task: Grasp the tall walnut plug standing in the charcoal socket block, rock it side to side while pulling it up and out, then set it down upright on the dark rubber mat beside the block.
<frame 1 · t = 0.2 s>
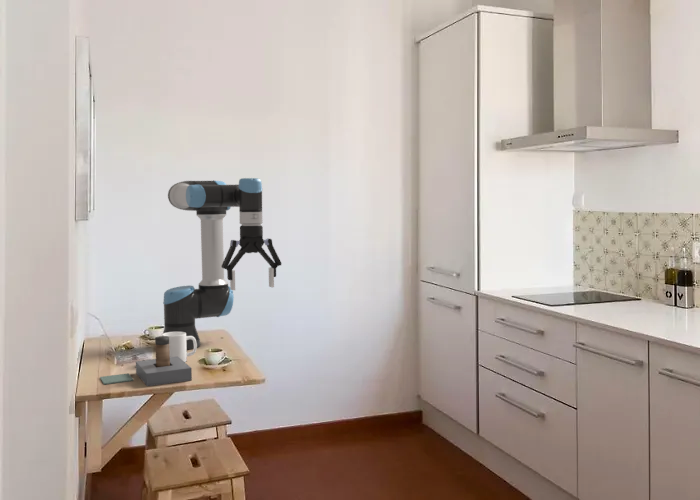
hand: (252, 288, 228), 28 cm above the table, fingers open, 13 cm apart
mat: (116, 379, 220), on the table
socket block: (163, 376, 223), on the table
plug: (162, 357, 223), in the socket block
cup: (180, 361, 244), on the table
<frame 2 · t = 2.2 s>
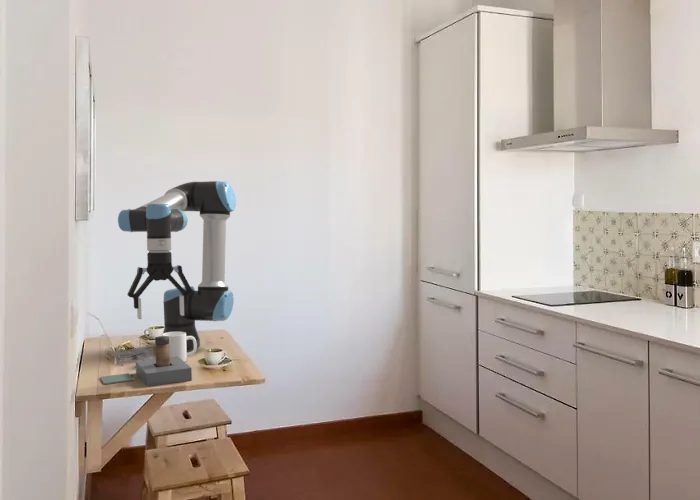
hand: (161, 316, 222), 20 cm above the table, fingers open, 13 cm apart
nothing on the table moved.
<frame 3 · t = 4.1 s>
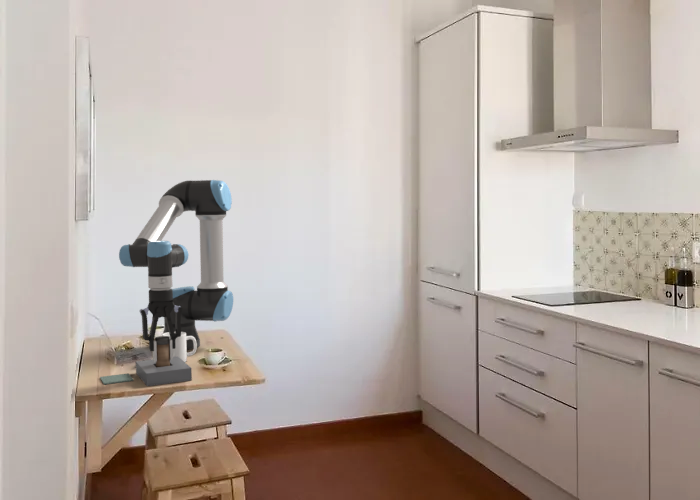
hand: (162, 359, 223), 6 cm above the table, fingers closed on plug, 4 cm apart
plug: (162, 357, 223), in the socket block, touching gripper
everything else where it was.
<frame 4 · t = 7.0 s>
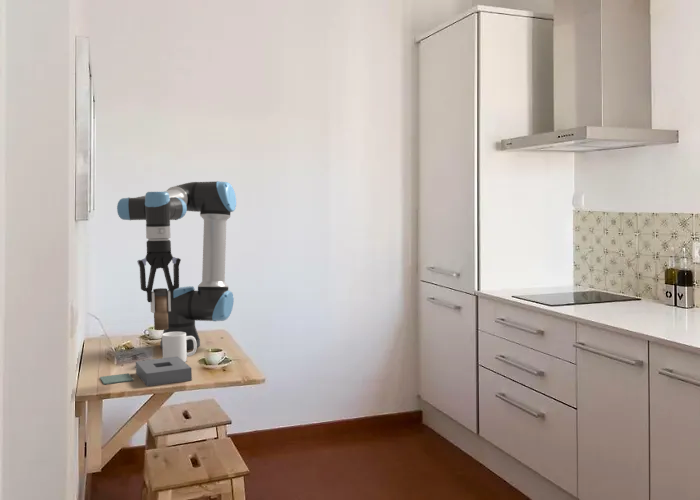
hand: (160, 311, 222), 22 cm above the table, fingers closed on plug, 4 cm apart
plug: (160, 309, 222), point 22 cm above the table, touching gripper
everything else where it was.
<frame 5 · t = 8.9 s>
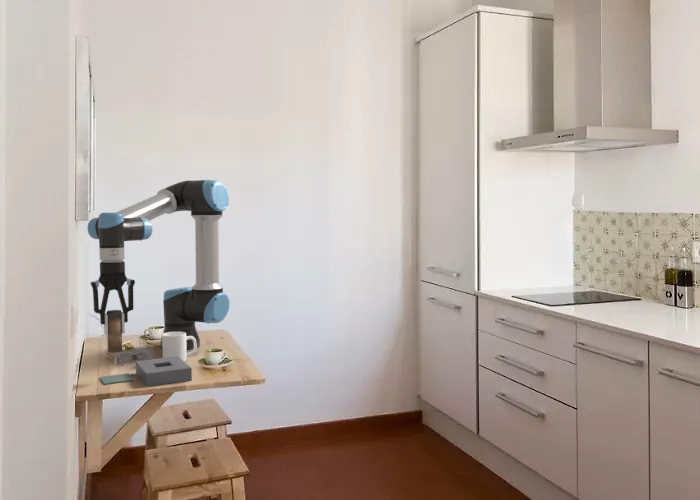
hand: (114, 333, 219), 15 cm above the table, fingers closed on plug, 4 cm apart
plug: (114, 331, 219), point 16 cm above the table, touching gripper
everything else where it was.
when the fingers open (8 cm above the table, at t = 10.2 s): plug drops 1 cm, resting on mat.
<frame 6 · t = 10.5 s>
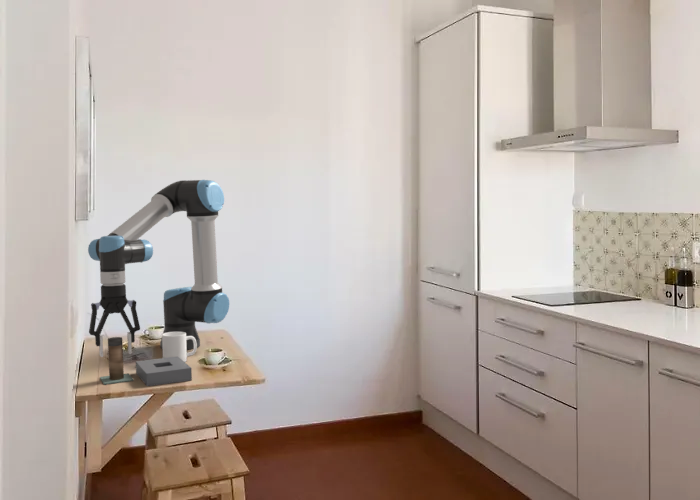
hand: (115, 354, 220), 8 cm above the table, fingers open, 8 cm apart
plug: (115, 358, 220), on the mat
everything else where it was.
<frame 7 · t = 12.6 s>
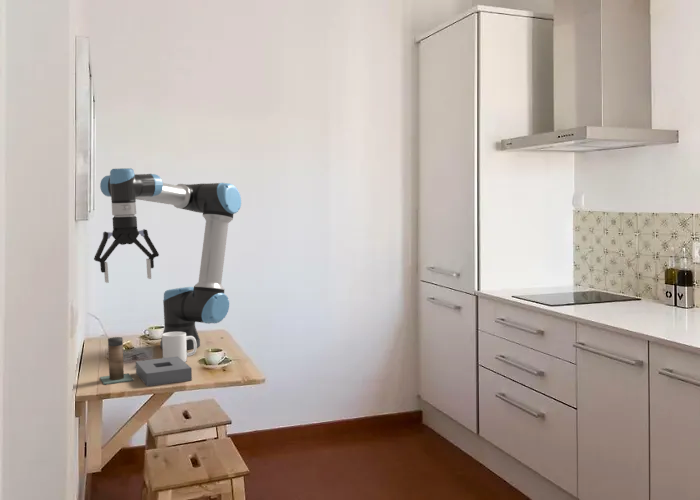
hand: (128, 280, 225), 31 cm above the table, fingers open, 13 cm apart
nothing on the table moved.
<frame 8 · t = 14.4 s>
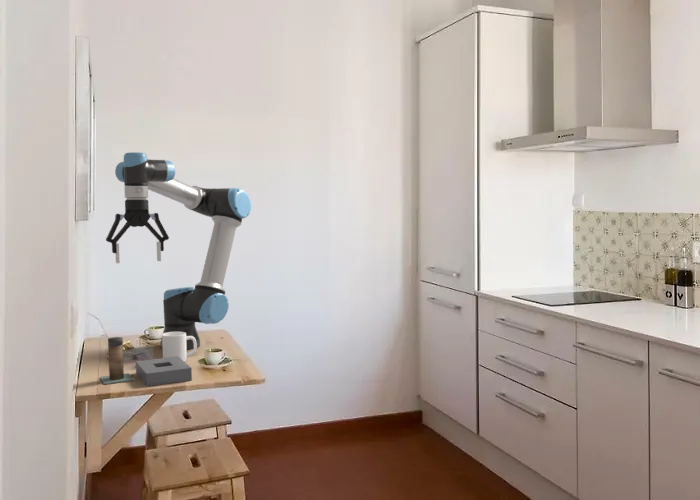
hand: (138, 262, 231), 37 cm above the table, fingers open, 13 cm apart
nothing on the table moved.
at the end: plug inside the target area on the mat (0.0 cm from its centre), point 6.9 cm above the mat's base; plug tilted 0°; the gripper is holding nothing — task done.
